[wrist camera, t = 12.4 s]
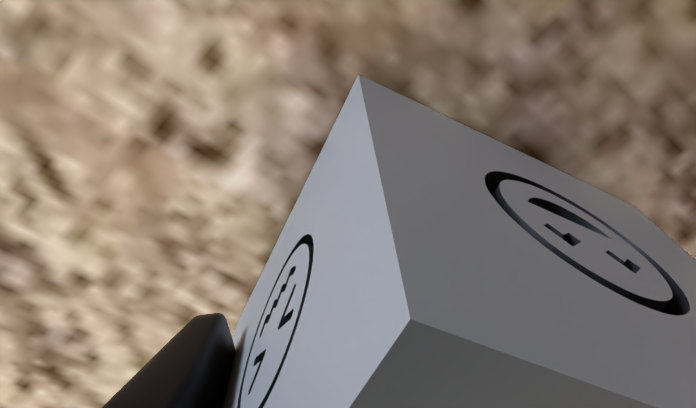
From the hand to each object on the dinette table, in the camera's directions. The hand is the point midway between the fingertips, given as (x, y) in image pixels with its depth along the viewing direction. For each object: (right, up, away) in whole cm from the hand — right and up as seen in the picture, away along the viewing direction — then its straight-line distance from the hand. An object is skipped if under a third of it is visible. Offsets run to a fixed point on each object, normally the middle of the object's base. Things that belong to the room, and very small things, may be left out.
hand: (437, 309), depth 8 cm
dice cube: (0, +1, +1) cm, 1 cm away
